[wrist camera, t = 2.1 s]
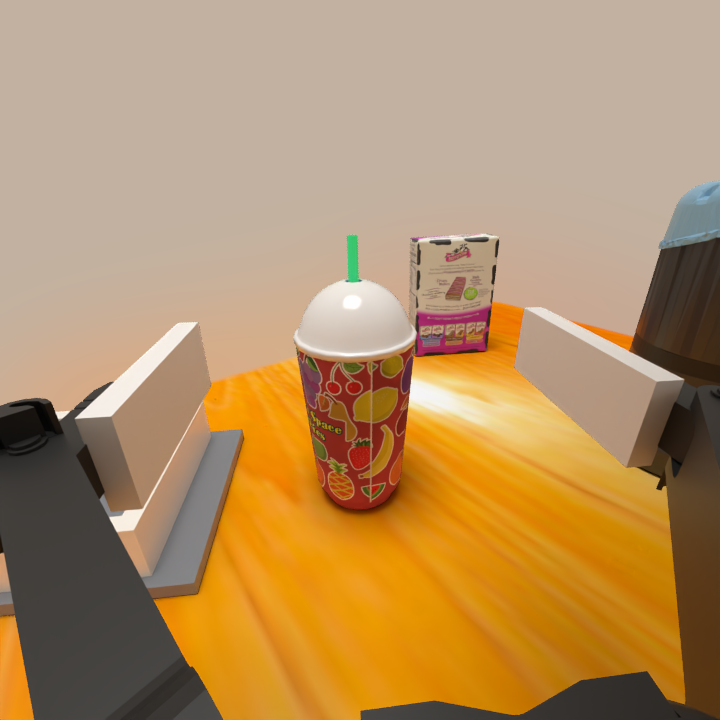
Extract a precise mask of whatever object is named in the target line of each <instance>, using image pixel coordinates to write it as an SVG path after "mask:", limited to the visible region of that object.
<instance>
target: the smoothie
mask: <svg viewBox="0 0 720 720" xmlns="http://www.w3.org/2000/svg"><path fill="white" fill-rule="evenodd" d="M357 244H358V242H357V235H348V236H347V250H348V276H349V278H348V279H344V280H341V281H338V282H335V283H333V284H331V285H329V286H327V287H326V288H324V289H323V290H322V291H320V292H319V293H318V294H317V295H316V296H315V297H314V298H313V299H312V300H311V301H310V303H309V305H308V306H307V308H306V310H305V312H304V315H303V318H302V321H301V324H300V327H299V328H298V329H297V330H296V331H295V334H294V338H293V340H294V343H295V345H296V349H297V356H298V362H299V368H300V374H301V380H302V385H303V391H304V397H305V403H306V409H307V414H308V420H309V426H310V432H311V437H312V443H313V449H314V455H315V461H316V466H317V472H318V478H319V482H320V484H321V486H322V488H323V489H324V490H325V491H326V492H327V493H328V494H329V496H330V498H331V499H332V500H333V501H335V502H336V503H337V504H339V505H341V506H343V507H345V508H349V509H356V510H361V509H370V508H373V507H375V506H378V505H380V504H382V503H383V502H384V501H386V500H387V499H388V498H389V496H390V495H391V493H392V492H393V491H394V489H395V488H396V486H397V485H398V483H399V482H400V476H401V468H402V459H403V450H404V440H405V431H406V422H407V412H408V403H409V394H410V384H411V375H412V366H413V356H414V347H415V340H416V336H417V332H416V330H415V328H414V326H413V325H412V324H410V321H409V318H408V316H407V314H406V311H405V310H404V308H403V306H402V305H401V303H400V302H399V300H398V299H397V298H396V296H394V295H393V293H392V292H391V291H389V290H388V289H386V288H385V287H383V286H381V285H379V284H377V283H375V282H372V281H369V280H365V279H361V278H359V277H358V245H357Z"/></svg>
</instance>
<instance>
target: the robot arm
mask: <svg viewBox="0 0 720 720" xmlns="http://www.w3.org/2000/svg"><path fill="white" fill-rule="evenodd" d="M659 249H661V251H660V255H659V258H658V261H657V264H656V268H655V271H654V274H653V278H652V281H651V284H650V287H649V291H648V294H647V297H646V301H645V304H644V307H643V310H642V313H641V316H640V319H639V322H638V325H637V329H636V333H635V335H634V339H633V342H632V345H631V348H630V350H629V351H627V350H625V349H623V348H621V347H619V346H617V345H615V344H613V343H612V342H610V341H608V340H606V339H604V338H602V337H600V336H598V335H596V334H594V333H592V332H590V331H588V330H586V329H584V328H582V327H580V326H578V325H576V324H574V323H572V322H570V321H568V320H566V319H564V318H562V317H560V316H558V315H556V314H555V313H552V312H550V311H549V310H547V309H545V308H543V307H535V308H525V309H524V314H523V320H522V326H521V331H520V337H519V343H518V349H517V354H516V360H515V366H514V368H515V369H516V370H517V371H518V372H519V373H521V374H522V375H523V376H524V377H525V378H526V379H527V380H528V381H529V382H531V383H532V384H533V385H534V386H535V387H536V388H537V389H538V390H540V391H541V392H542V393H543V394H544V395H545V396H546V397H547V398H549V399H550V400H551V401H552V402H553V403H554V404H555V405H556V406H558V407H559V408H560V409H561V410H562V411H563V412H564V413H565V414H567V415H568V416H569V417H570V418H571V419H572V420H573V421H574V422H576V423H577V424H578V425H579V426H580V427H581V428H582V429H583V430H585V431H586V432H587V433H588V434H589V435H590V436H591V437H592V438H594V439H595V440H596V441H597V442H598V443H599V444H600V445H601V446H602V447H604V448H605V449H606V450H607V451H608V452H609V453H610V454H611V455H613V456H614V457H615V458H616V459H617V460H618V461H619V462H620V463H622V464H623V465H624V466H625V467H626V468H628V467H641V468H643V469H645V470H648V471H650V472H652V473H654V474H656V475H659V476H661V478H660V481H659V483H658V486H657V488H656V489H658V490H662V488H663V486H667V496H668V507H669V518H670V529H671V540H672V551H673V562H674V572H675V583H676V594H677V605H678V616H679V627H680V638H681V649H682V660H683V671H684V682H685V697H686V702H685V705H684V704H681V703H677V702H674V701H671V700H667V699H666V698H665V697H664V695H663V694H662V692H661V691H660V689H659V688H658V686H657V685H656V683H655V682H654V681H653V679H652V678H651V676H650V675H649V673H648V672H647V671H646V672H638V673H631V674H624V675H617V676H610V677H602V678H595V679H588V680H581V681H579V682H577V683H576V684H574V685H572V686H570V687H569V688H567V689H565V690H564V691H562V692H560V693H558V694H557V695H555V696H553V697H552V698H550V699H548V700H546V701H545V702H543V703H541V704H540V705H538V706H536V707H534V708H533V709H531V710H529V711H528V712H526V713H524V714H521V715H508V714H503V713H497V712H492V711H487V710H481V709H476V708H471V707H465V706H460V705H455V704H449V703H444V702H439V701H429V702H422V703H415V704H407V705H400V706H393V707H386V708H379V709H371V710H364V711H361V720H720V181H713V182H707V183H704V184H701V185H699V186H697V187H695V188H693V189H691V190H690V191H688V192H687V193H686V194H685V195H684V196H683V197H682V198H681V199H680V201H679V202H678V204H677V206H676V208H675V211H674V213H673V216H672V219H671V222H670V224H669V227H668V229H667V232H666V234H665V237H664V240H662V241H661V242H660V244H659ZM210 387H211V382H210V377H209V372H208V367H207V363H206V358H205V352H204V348H203V342H202V337H201V333H200V327H199V323H198V322H191V323H177V324H176V325H175V326H174V327H173V328H172V329H171V330H170V331H169V332H168V333H166V334H165V335H164V336H163V337H162V338H161V339H160V340H159V341H158V342H157V343H156V344H155V345H154V346H153V347H151V348H150V349H149V350H148V351H147V352H146V353H145V354H144V355H143V356H142V357H141V358H140V359H139V360H138V361H136V362H135V363H134V364H133V365H132V366H131V367H130V368H129V369H128V370H127V371H126V372H124V373H123V374H122V375H121V376H120V377H119V378H118V379H117V380H116V381H115V382H109V383H107V384H106V385H104V386H102V387H100V388H98V389H96V390H94V391H93V392H92V393H91V394H90V395H89V396H87V397H86V398H85V399H84V400H83V402H80V403H79V404H78V405H77V406H76V407H75V408H74V410H72V411H70V412H69V413H68V414H67V415H66V416H65V417H63V418H62V419H61V420H60V421H59V420H58V417H57V415H56V413H55V410H54V408H53V405H52V403H51V402H50V401H49V400H47V399H41V398H33V399H24V400H19V401H15V402H10V403H7V404H4V405H1V406H0V554H1V553H4V557H5V562H6V568H7V573H8V579H9V584H10V589H11V595H12V600H13V606H14V611H15V617H16V622H17V627H18V633H19V638H20V644H21V649H22V655H23V660H24V665H25V671H26V676H27V682H28V687H29V693H30V698H31V704H32V709H33V714H34V720H223V718H222V717H221V715H220V713H219V711H218V709H217V707H216V706H215V704H214V702H213V700H212V698H211V696H210V695H209V693H208V691H207V689H206V687H205V686H204V684H203V682H202V680H201V679H200V677H199V675H198V674H197V672H196V671H195V669H194V668H193V667H190V666H189V665H188V664H187V662H186V660H185V658H184V657H183V655H182V653H181V651H180V649H179V647H178V646H177V644H176V642H175V640H174V638H173V636H172V634H171V632H170V631H169V629H168V627H167V625H166V623H165V621H164V619H163V617H162V616H161V614H160V612H159V610H158V608H157V606H156V604H155V603H154V601H153V599H152V597H151V595H150V593H149V591H148V589H147V588H146V586H145V584H144V582H143V580H142V578H141V576H140V574H139V573H138V571H137V569H136V567H135V565H134V563H133V561H132V559H131V558H130V556H129V554H128V552H127V550H126V548H125V546H124V545H123V543H122V541H121V539H120V537H119V535H118V533H117V531H116V530H115V528H114V526H113V524H112V522H111V520H110V518H109V516H108V515H107V513H106V511H105V509H104V507H103V505H102V503H101V501H100V498H101V497H102V496H103V494H104V496H105V498H106V501H107V504H108V506H109V509H110V511H111V512H114V511H126V510H137V509H143V508H144V506H145V504H146V502H147V500H148V499H149V497H150V495H151V493H152V491H153V490H154V488H155V486H156V484H157V482H158V480H159V479H160V477H161V475H162V473H163V471H164V470H165V468H166V466H167V464H168V462H169V461H170V459H171V457H172V455H173V453H174V452H175V450H176V448H177V446H178V444H179V443H180V441H181V439H182V437H183V435H184V434H185V432H186V430H187V428H188V426H189V425H190V423H191V421H192V419H193V417H194V416H195V414H196V412H197V410H198V408H199V407H200V405H201V403H202V401H203V399H204V398H205V396H206V394H207V392H208V390H209V389H210Z"/></svg>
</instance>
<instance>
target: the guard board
mask: <svg viewBox="0 0 720 720" xmlns="http://www.w3.org/2000/svg"><path fill="white" fill-rule="evenodd" d="M69 412H70V411H63V412H55V413H56V415H57V417H58V420H59V421H60V420H61V419H62V418H63V417H65V416H66V415H67V414H68V413H69ZM243 438H244V436H243V431H242V429H241V430H229V431H216V432H210V429H209V425H208V420H207V416H206V412H205V408H204V403H203V401H202V403H201V405H200V407H199V408H198V410H197V412H196V414H195V416H194V417H193V419H192V421H191V423H190V425H189V426H188V428H187V430H186V432H185V434H184V435H183V437H182V439H181V441H180V443H179V444H178V446H177V448H176V450H175V452H174V453H173V455H172V457H171V459H170V461H169V462H168V464H167V466H166V468H165V470H164V471H163V473H162V475H161V477H160V479H159V480H158V482H157V484H156V486H155V488H154V490H153V491H152V493H151V495H150V497H149V499H148V500H147V502H146V504H145V506H144V508H143V509H137V510H126V511H114V512H111V511H110V509H109V506H108V504H107V501H106V498H105V496H104V494H103V496H102V497H101V498H100V501H101V503H102V505H103V507H104V509H105V511H106V513H107V515H108V516H109V518H110V520H111V522H112V524H113V526H114V528H115V530H116V531H117V533H118V535H119V537H120V539H121V541H122V543H123V545H124V546H125V548H126V550H127V552H128V554H129V556H130V558H131V559H132V561H133V563H134V565H135V567H136V569H137V571H138V573H139V574H140V576H141V578H142V580H143V582H144V584H145V586H146V588H147V589H148V591H149V593H150V595H151V597H152V599H154V598H163V597H172V596H181V595H189V594H198V590H199V587H200V584H201V580H202V577H203V573H204V570H205V567H206V563H207V560H208V557H209V553H210V550H211V546H212V543H213V540H214V536H215V533H216V530H217V526H218V523H219V519H220V516H221V513H222V509H223V506H224V503H225V499H226V496H227V492H228V489H229V486H230V482H231V479H232V476H233V472H234V469H235V465H236V462H237V459H238V455H239V452H240V449H241V445H242V442H243ZM6 615H15V611H14V606H13V600H12V595H11V589H10V584H9V579H8V573H7V568H6V562H5V557H4V553H1V554H0V616H6Z"/></svg>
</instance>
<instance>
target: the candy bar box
mask: <svg viewBox="0 0 720 720" xmlns="http://www.w3.org/2000/svg"><path fill="white" fill-rule="evenodd" d="M498 246H499V237H496V236H493V235H490V234H469V235H450V236H436V237H418V238H411V239H410V290H409V321H410V324H412V325H413V326H414V328H415V330H416V332H417V336H416V340H415V347H414V354H415V356H429V355H441V354H453V353H465V352H476V351H485V350H487V343H488V335H489V325H490V317H491V308H492V298H493V290H494V281H495V273H496V264H497V255H498Z"/></svg>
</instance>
